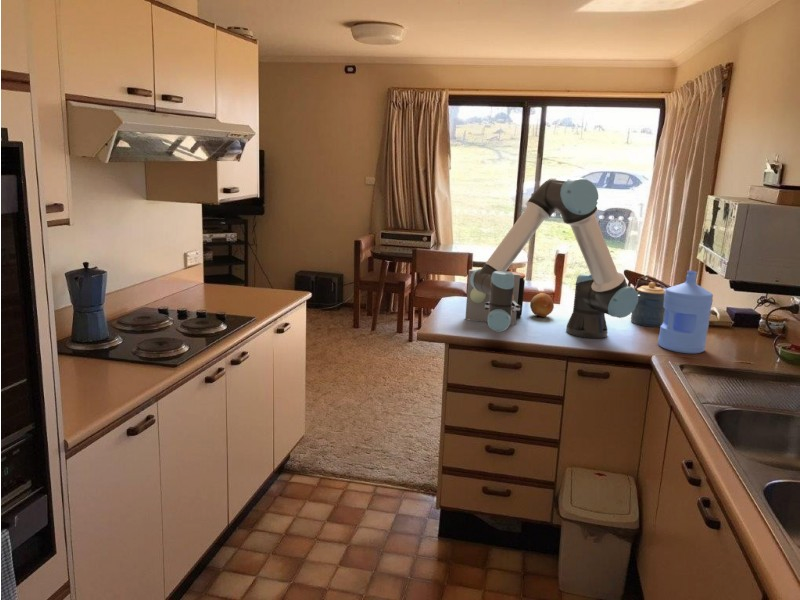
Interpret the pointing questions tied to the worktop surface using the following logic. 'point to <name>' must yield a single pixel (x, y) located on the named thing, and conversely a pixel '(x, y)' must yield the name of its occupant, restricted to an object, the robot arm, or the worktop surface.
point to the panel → (478, 309)
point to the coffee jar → (520, 292)
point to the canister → (649, 306)
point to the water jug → (685, 317)
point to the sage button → (477, 296)
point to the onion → (541, 305)
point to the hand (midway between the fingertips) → (505, 298)
